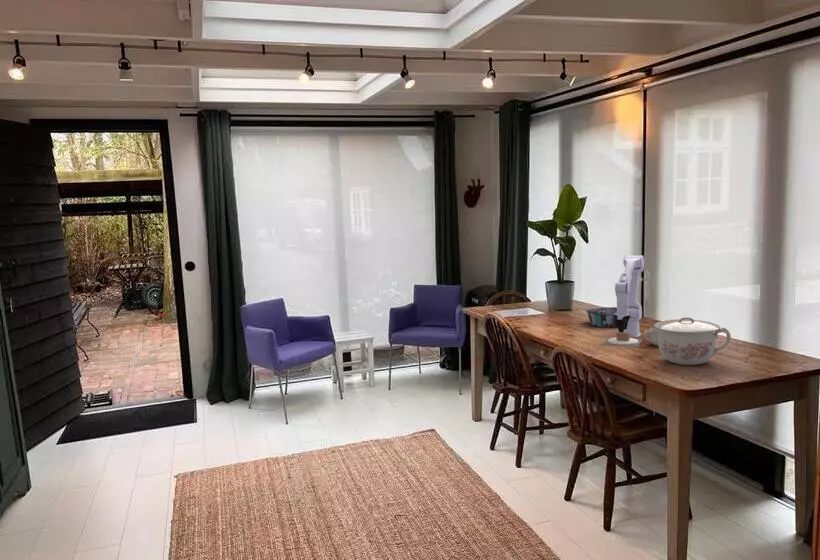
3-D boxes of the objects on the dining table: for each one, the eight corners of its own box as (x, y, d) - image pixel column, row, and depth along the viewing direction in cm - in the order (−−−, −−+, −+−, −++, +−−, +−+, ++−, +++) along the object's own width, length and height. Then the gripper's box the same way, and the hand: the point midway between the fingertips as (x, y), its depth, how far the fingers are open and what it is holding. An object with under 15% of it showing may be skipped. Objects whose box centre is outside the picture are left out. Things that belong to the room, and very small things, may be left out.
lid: (611, 337, 327) (611, 329, 326) (640, 339, 319) (640, 330, 319) (604, 343, 314) (604, 334, 314) (635, 346, 306) (635, 337, 306)
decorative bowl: (638, 330, 351) (640, 313, 349) (591, 329, 351) (592, 312, 350) (624, 322, 376) (625, 306, 375) (580, 320, 377) (581, 305, 376)
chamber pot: (640, 359, 283) (640, 316, 280) (683, 351, 294) (683, 309, 291) (690, 373, 257) (690, 326, 255) (735, 363, 268) (736, 318, 266)
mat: (610, 337, 329) (610, 337, 329) (643, 340, 320) (643, 339, 320) (602, 345, 314) (602, 344, 314) (636, 347, 305) (636, 347, 305)
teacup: (670, 342, 311) (670, 327, 310) (673, 347, 301) (673, 332, 300) (641, 342, 315) (641, 327, 314) (644, 347, 305) (643, 331, 304)
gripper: (617, 302, 322) (618, 327, 324) (611, 307, 310) (611, 333, 312) (631, 303, 319) (631, 328, 320) (625, 307, 307) (625, 333, 308)
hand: (622, 330), depth 316 cm, fingers open, 7 cm apart
